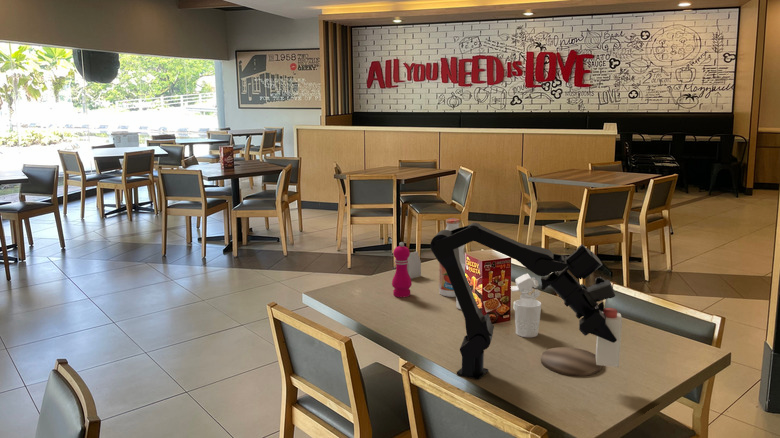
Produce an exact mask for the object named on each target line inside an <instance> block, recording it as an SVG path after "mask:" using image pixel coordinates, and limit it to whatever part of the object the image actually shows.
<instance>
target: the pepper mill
mask: <svg viewBox="0 0 780 438" xmlns="http://www.w3.org/2000/svg"><path fill="white" fill-rule="evenodd" d="M410 253H411V252H410V249H409V248H408V247H407V246H405V243H404V242H403V241H401V242H399V245H398V246H396V247H395V248H394V250H393V257H394V263H395V266H396V267H395V268H396V269H395V273H394V275H393V277H392V281H391V286H392V287H393V290H392V292H393V297H397V298H406V297H409V296H411V289H410V288H411V287H412V279H411V278H410V276H409V274H408V270H407V264H408V263H409V262H408V257H409V256H410Z"/></svg>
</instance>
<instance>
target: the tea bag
mask: <svg viewBox="0 0 780 438" xmlns="http://www.w3.org/2000/svg"><path fill="white" fill-rule="evenodd" d="M408 262H409V263H408V264H407V270H408V274H409V276H410V278H411V280H412V279H415V278H418V277H421V276H422V261H421V259H420V256H419V251H418V250H416V251H413V252H410V256H409V257H408Z"/></svg>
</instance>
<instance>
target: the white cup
mask: <svg viewBox="0 0 780 438" xmlns="http://www.w3.org/2000/svg"><path fill="white" fill-rule="evenodd" d="M514 301H515V310H514V323H515V324H514V325H515V335H517V336H519V337H522V338H535V337H538V336H539V328H540V322H541V309H542V302H541V301H539V300H538V299H535V300H534V299H517V300H514Z"/></svg>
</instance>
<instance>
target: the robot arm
mask: <svg viewBox="0 0 780 438" xmlns="http://www.w3.org/2000/svg"><path fill="white" fill-rule="evenodd" d="M473 242H475V243H478V244H480V245H482V246H485V247H487V248H489V249H492V250H493V251H496V252H498V253H500V254H502V255H504V256H507V257H509V258H512V259H514V260H516V261H517V262H519V263H520V264H521V265H522V266H524V267H525V269H527V270H529V271H530V272H532V273H533V274H535V275H536V276H537V277H540V282H541V288H540V289H541V291H544V290H546V289H547V288H548V287H550V288H551V289H552V290H553V291H554V292H555V293H556V295H558V296H559V297H560V298H561V299H562V301H563V304H564V305H565V307H567V308H568V307H569V308H570V309H571V310H572V311H573V312H574V314H575V317H576V318H577V319H578V320H579V321H578V328H579V331H580V333H582V335H584V337H586V336H588V335H589V334H590V335H593V336H596V337H597V336H598V337H601V338H603V339H606V340H608V341H610V342H613V343H614V342H616V341H617V339H616V338H615V336H614V334H613V333H612V332H611V330H610V329H609V327H608V326H607V324H606V314H603V313H602V312H603V310H604V308H605V303H604V300H607V299H613V298H616V293H615V289H614V288H613V285H612V282H611V280H609V279H605V278H604V277H602V276H598V277H595V278H594V279H595V281H594V284H591V286H588V287H587V286H586V285H585V284H584V283H581V284H580V282H579V281H577V280H582V279H583V280H585V279H587V278H588V277H589V276H590V275H592V274H593V273H594V272H596V271H597V270H598V269H599V268H601V266H603V262H602V261H601V260H600V258H599V257H598V256H597V255H596V253H594V252H593V250H590V249H589V248H588V247H586V246H585V245H584V244H582V243H581V244H580V245H579V246H578V247H577V248H576V249H575V250H574V251H573V252H572V253H571V254H570V255H569V256H567V255H565V254H558V253H553V251H552V250H550V249H549V248H545V247H541V246H537V245H531V244H525V243H522V242H519V241H517V240H515V239H512V238H511V237H508V236H505V235H503V234H501V233H498V232H496V231H494V230H492V229H489V228H487V227H486V226H483V225H482V224H480V223H478V222H472V223H470V224H468V225H465V226H462V227H460V226H459V228H457V229H454V230H451V231H449V230H445V229H442V230H440V231H439V232H437V234H435V236H433V238H432V239H431V241H430V245H429V246H430V251H431V252H432V254H433V255H434V257H435V259H436V260H437V261H438V263H440V264H441V265H442V266H443V267H444V268H445V270H446V272H447V275H448V277H449V280H450V282H451V285H452V287H453V290H454V292H455V295H456V297H457V300H458V302H459V305H460V307H461V309H460V310H461V312H462V315H463V318H464V323H465V331H466V335H465V336H464V338H463V340H462V342H461V345H460V348H459V352H460V354H461V368H460V369H458V370H457V371H456V375H459V376H461V377H466V378H470V379H473V380H480V379H481V378H483V376H484V375H486V374H487V373H488V372H489V369H488V368H485V367H484V365H485V364H484V361H485V360H484V359H485V358H484V357H485V353H484V352H485V351H486V350H487V349H488V348H489V347H490V346H491V342H492V340H493V335H494V329H495V326H494V324H493V323H492V321H491V317H490V314H489V313H486V314H485V315H484V314H483V312H481V311H480V308H479V306H478V304H477V301H476V298H475V296H474V292H473V293H472V291H471V288H470V286H469V283H468V281H467V278H466V276H465V273H464V271H463V268H462V265H461V263H460V258H459V247H461V246H463V245H465V246H466V245H467V244H470V243H473ZM456 297H455V298H456ZM598 302H600V303H598Z"/></svg>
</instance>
